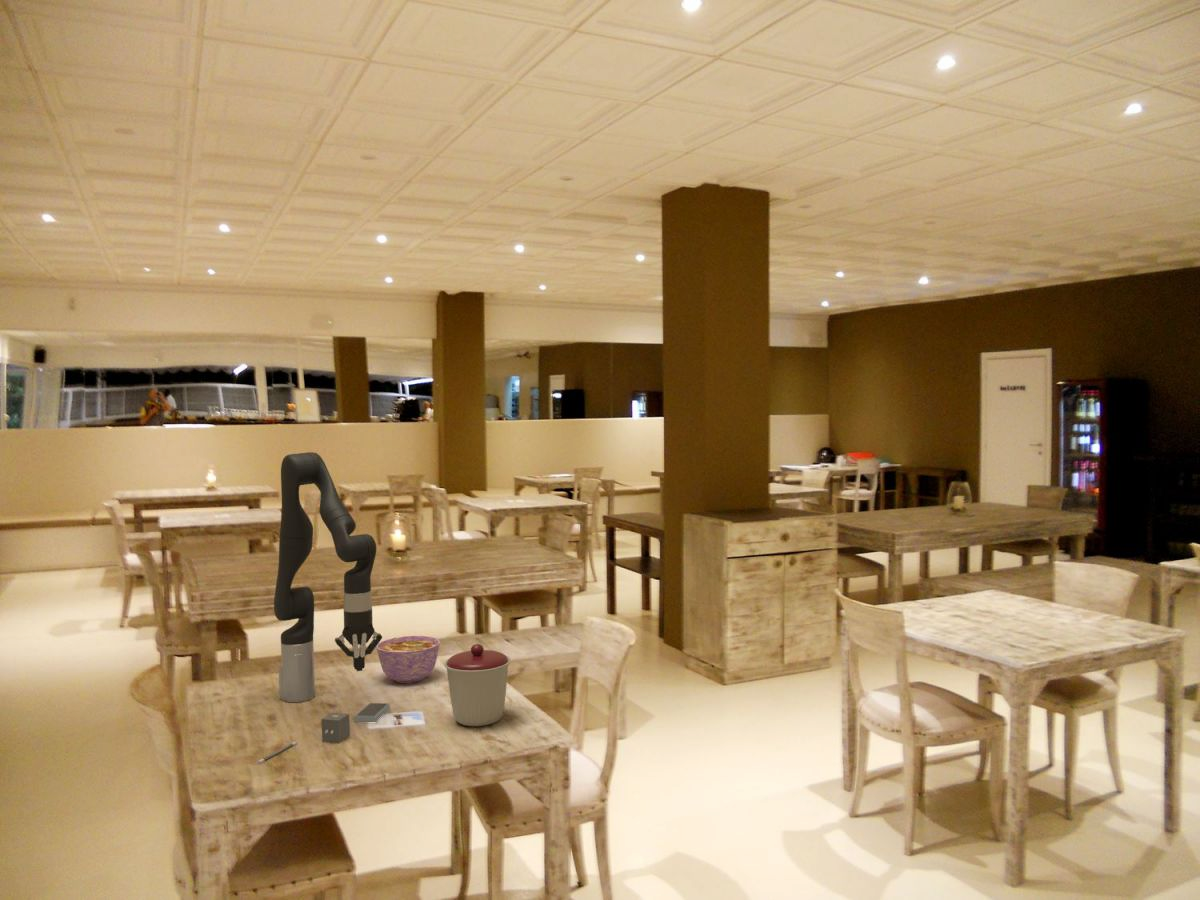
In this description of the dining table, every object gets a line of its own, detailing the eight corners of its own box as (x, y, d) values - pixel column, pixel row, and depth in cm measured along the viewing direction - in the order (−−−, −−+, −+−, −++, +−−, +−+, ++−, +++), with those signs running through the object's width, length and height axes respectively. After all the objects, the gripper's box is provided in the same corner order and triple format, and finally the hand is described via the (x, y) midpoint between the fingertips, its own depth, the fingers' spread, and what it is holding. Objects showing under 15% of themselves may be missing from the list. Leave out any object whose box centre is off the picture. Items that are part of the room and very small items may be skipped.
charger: (320, 743, 221) (319, 719, 221) (333, 734, 227) (332, 712, 226) (337, 744, 220) (336, 721, 220) (349, 736, 225) (349, 713, 225)
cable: (260, 763, 208) (260, 760, 208) (258, 762, 209) (258, 760, 209) (296, 744, 220) (296, 741, 220) (294, 743, 221) (294, 741, 221)
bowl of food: (373, 674, 280) (372, 639, 280) (435, 667, 287) (434, 633, 287) (380, 692, 261) (379, 654, 261) (446, 684, 269) (445, 647, 268)
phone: (354, 723, 236) (354, 715, 236) (369, 710, 247) (369, 702, 247) (375, 724, 235) (375, 716, 235) (389, 710, 246) (389, 703, 246)
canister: (525, 716, 238) (523, 641, 237) (481, 737, 223) (480, 657, 222) (476, 705, 248) (474, 633, 247) (431, 724, 233) (429, 647, 232)
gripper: (334, 613, 228) (335, 677, 229) (384, 608, 233) (386, 670, 234) (331, 607, 235) (332, 669, 236) (380, 602, 240) (381, 663, 241)
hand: (359, 670), depth 235 cm, fingers closed
